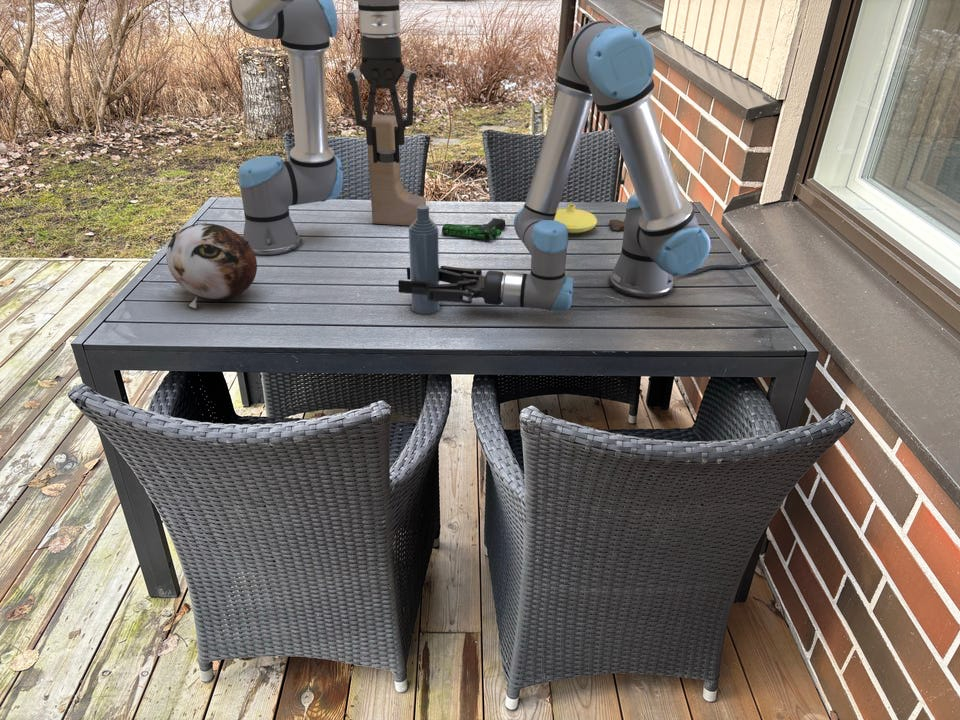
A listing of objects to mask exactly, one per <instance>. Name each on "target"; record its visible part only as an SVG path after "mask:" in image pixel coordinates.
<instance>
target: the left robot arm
mask: <svg viewBox="0 0 960 720" xmlns="http://www.w3.org/2000/svg"><path fill="white" fill-rule="evenodd" d="M228 4H229V12H230V15H231V17H232V19H233V21H234V22H235V24H236V25H237V26H238V27H239V28H240V29H241V30H242V31H244V32H245V33H246V34H249V35H251V36H253V37H256V38H259V39H264V40H280V41H279V42H280V47H281V48H283V49H284V51H286V53H287V57H288V69H289V71H288V72H289V85H290V98H291V110H292V123H293V124H292V125H293V135H294V137H293V138H294V147H292V148H291V149H290V151H289V160H283V158H282V157H281V156H279V155H262V156H258V157H253V158H251V159H248V160H245V162H243V163H241V165H240V166H239V167H238V170H237V174H238V186H239V190H240V196H241V201H242V208H243V212H244V213H243V215H244V219H245V220H244V226H243V228H244V229H243V235H240V236H241V237H243V238H244V239H245V240H246V241H249V242H248V244H249V245H250V247H251V248H252V250H253V252H254V254H255V256H256V255H257V256H275V255H281V254H282V255H283V254H285V253H289V252H291V251H293V250H296V249H297V248H298V247H299V246H300V244H301V241H300V235H299V233H298V231H297V229H296V227H295V225H294V223H293V220H292V218H291V216H290V207H291V206H298V205H305V204H312V203H318V202H319V203H320V202H321V203H322V202H323V203H324V202H326V201H329V200H334V199H336V198H338V196H339V195H340V194H341V192H342V189H343V184H344V171H343V165H342V162H341V160H340V158H339V157H338V156H337V155H335V151H334V150H333V149H332V148H331V147H330V146H329V135H328V134H329V133H328V117H327V116H328V112H327V111H328V109H327V92H326V90H327V89H326V72H325V71H326V70H325V69H326V67H325V53H326V52H327V50H328V49H329V48H330V47H331V45H330V44H331V43H330V40H331V39H330V38H334V37H335V36H337V35H338V30H339V21H338V13H337V10H336V6H335V3H334V1H333V0H229V3H228ZM357 10H358V11H357V12H358V23H359V24H358V26H359V33H361V34H362V36H361V37H360V38H359V42H360V56H361V62H360V64H359V67H358V68H355V69H354V70H349V71H348V72H347V74H346V77H347V80H348V82H349V84H350V86H351V93H352V101H353V102H352V103H353V111H354V118H355V124H356V126H357V127H362V128H364V129H365V138H366V144H367V145H366V146H368V145H373V162H374V163H377V162H378V161H377V137H376V127H372V121H373V115H374V113H375V112H374V111H375V107H376V106H375V104H376V96H377V91H378V89H379V90H380V89H387V90H389V95H390V98H391V103H392V108H393V112H394V116H396V121H397V125H398V127H394V134H395V156H396V163H400V161H401V160H400V159H401V158H400V146H404V145H405V143H406V141H405V129H406V128H407V127H412V126H413V124H414V95H415V94H414V93H415V91H414V90H415V89H414V88H415V84H416V82H417V78H418V73H417V71H415V70H410V69H407V68H406V67H405V65H404V63H403V59H402V39H401V37H400V35H399V34H400V33H401V32H402V31H401V30H402V29H401V9H400V0H357ZM361 75H362V76H363V78H364V79H365V80H366V82H367V83H368V84H369V85H370V86H369V87H370V88H369V93H368V94H369V95H368V102H367V109H366V110H367V111H366V119H365V118H363V117H364V116H363V110H362V101H361V91H360V85H359V82H360V81H361ZM403 75H404V81H405V82H406V83H407V85H406V118H404V117H403V113H402V109H401V104H400V99H399V94H398V90H397V83H398V82H399V81H400V79H401V78H402V76H403ZM400 164H401V163H400ZM178 232H179V231H176V232H174V233H173V234H172V235H171V236H170V237H171V238H173V237H174V235H176V234H177V233H178Z"/></svg>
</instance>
